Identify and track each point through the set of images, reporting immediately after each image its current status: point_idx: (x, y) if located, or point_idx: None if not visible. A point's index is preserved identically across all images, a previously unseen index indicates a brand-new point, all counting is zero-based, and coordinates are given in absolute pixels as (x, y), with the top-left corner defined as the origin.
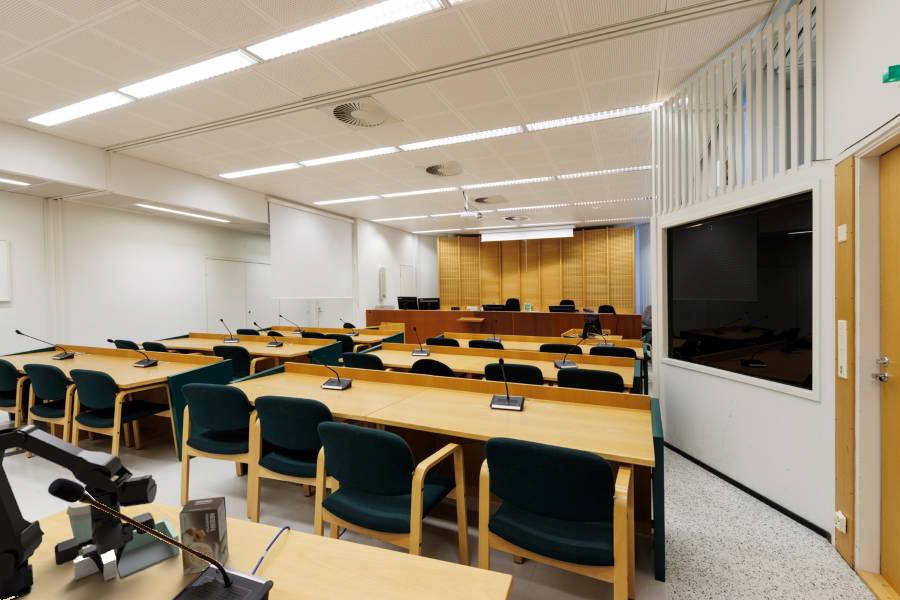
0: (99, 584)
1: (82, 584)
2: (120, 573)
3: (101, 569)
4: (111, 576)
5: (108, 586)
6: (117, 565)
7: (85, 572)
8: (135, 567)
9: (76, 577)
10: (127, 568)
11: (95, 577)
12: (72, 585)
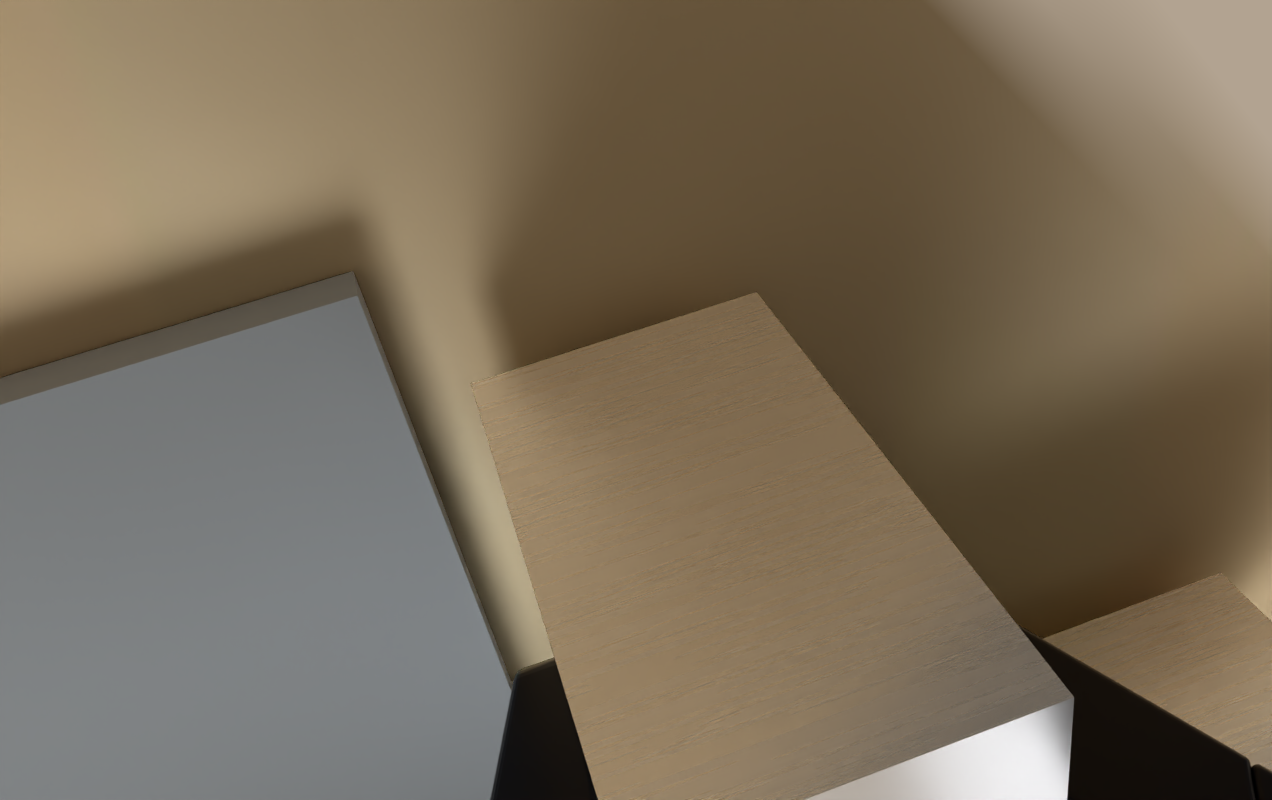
0: (843, 264)
1: (1115, 433)
2: (404, 456)
3: None
4: (617, 365)
5: (638, 32)
6: (524, 695)
7: None
8: (23, 569)
9: (1235, 618)
10: (260, 596)
11: None
12: (1240, 478)
